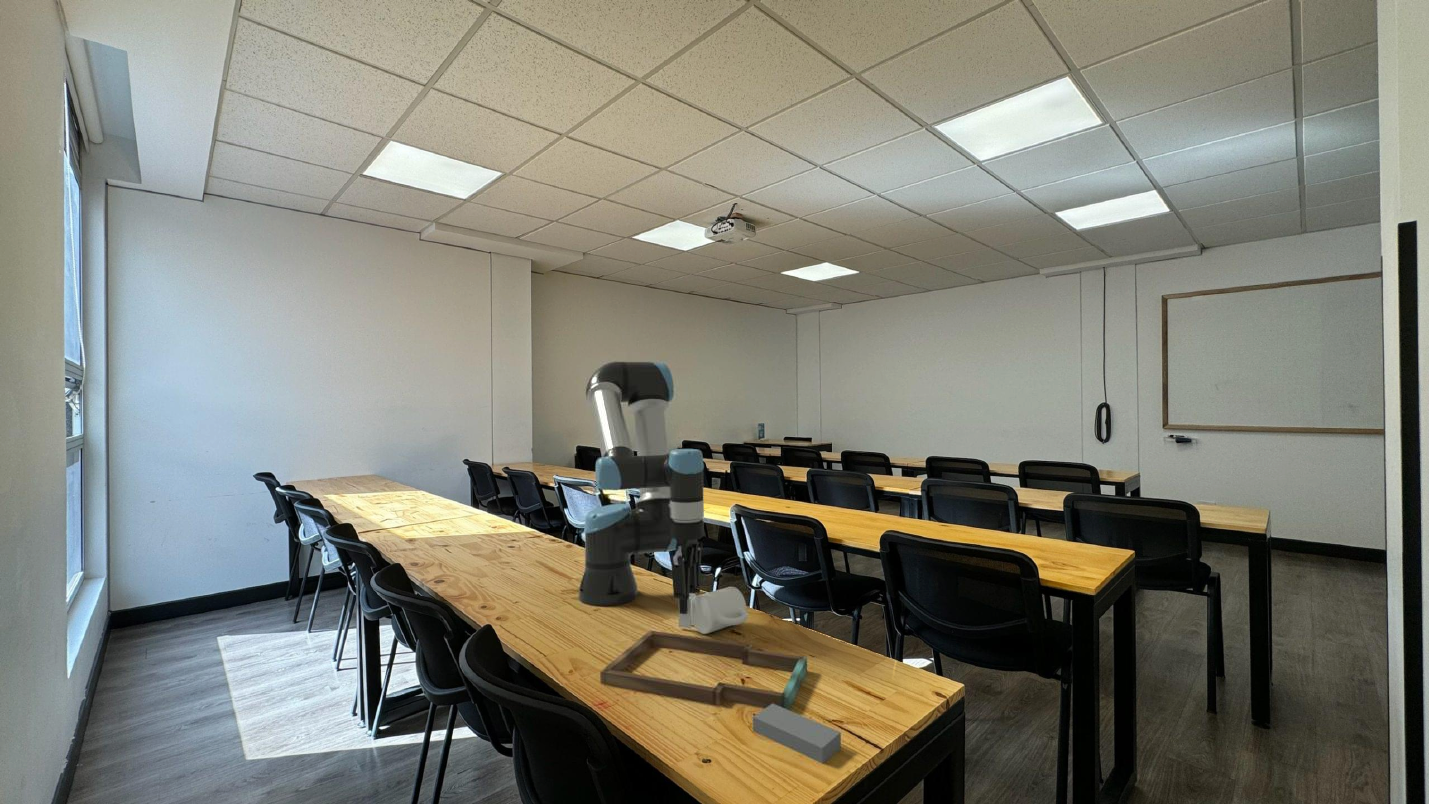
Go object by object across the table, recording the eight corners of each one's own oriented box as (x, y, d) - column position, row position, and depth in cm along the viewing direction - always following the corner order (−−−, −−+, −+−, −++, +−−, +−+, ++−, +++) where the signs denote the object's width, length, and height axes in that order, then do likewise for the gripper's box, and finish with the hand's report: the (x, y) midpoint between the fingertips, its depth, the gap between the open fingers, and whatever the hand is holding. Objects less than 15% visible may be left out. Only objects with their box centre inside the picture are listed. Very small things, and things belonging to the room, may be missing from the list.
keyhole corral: (649, 642, 120) (649, 630, 120) (809, 666, 108) (809, 652, 108) (600, 685, 102) (600, 671, 102) (785, 719, 90) (785, 703, 90)
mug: (689, 627, 127) (689, 591, 127) (723, 616, 133) (723, 582, 133) (724, 646, 118) (724, 607, 118) (759, 633, 124) (759, 596, 124)
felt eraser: (753, 736, 86) (752, 716, 86) (772, 722, 90) (772, 703, 90) (822, 770, 78) (822, 748, 78) (840, 753, 82) (840, 732, 82)
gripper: (684, 511, 136) (685, 610, 136) (656, 525, 122) (657, 635, 122) (714, 513, 133) (715, 614, 134) (689, 527, 119) (690, 640, 119)
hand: (687, 624), depth 128 cm, fingers open, 2 cm apart
